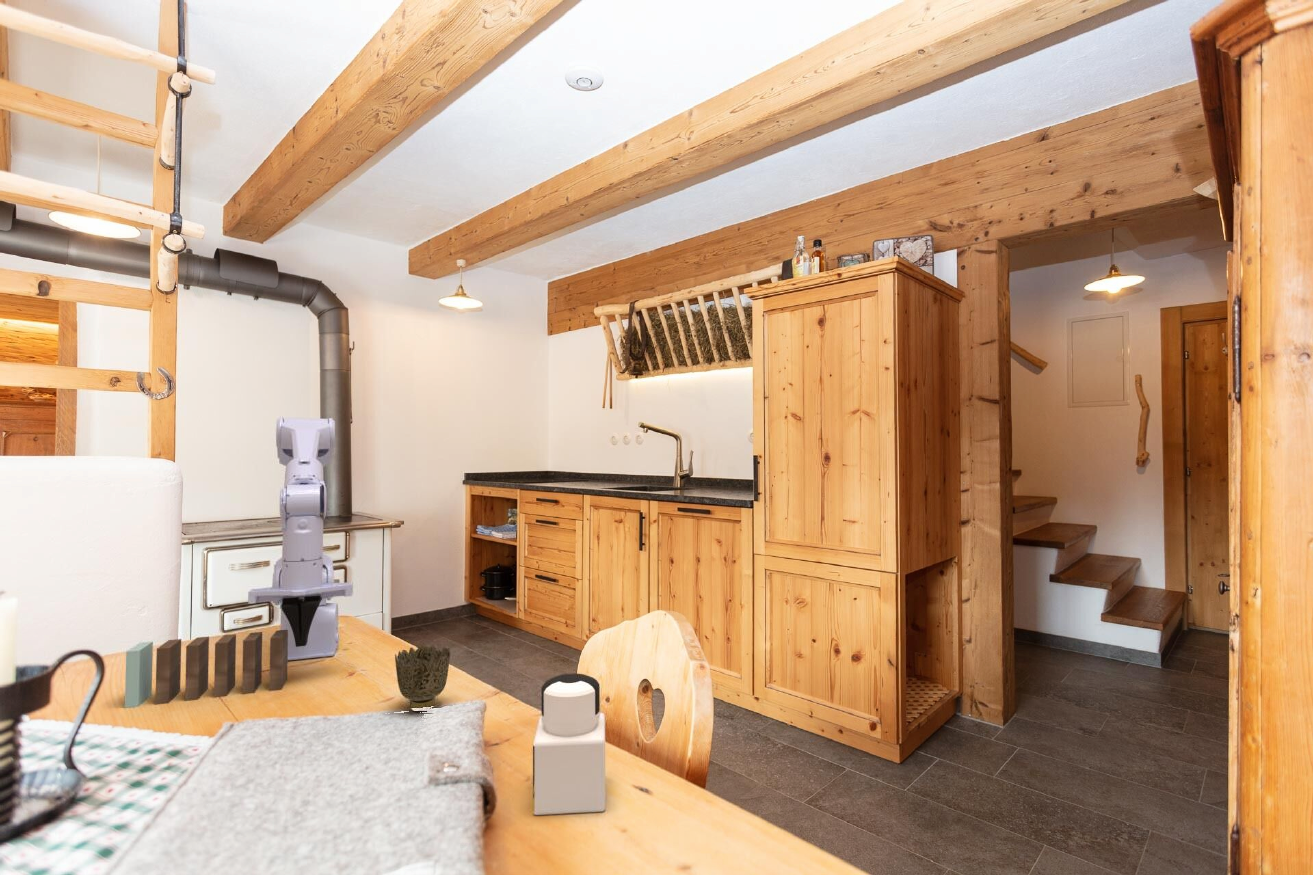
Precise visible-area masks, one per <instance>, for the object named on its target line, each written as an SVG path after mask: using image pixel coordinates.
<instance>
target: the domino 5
mask: <svg viewBox="0 0 1313 875" xmlns="http://www.w3.org/2000/svg"><path fill="white" fill-rule="evenodd" d="M242 640H243V641H242V678H241V681H242V682H241V684H242V685H241V694H242V695H249V694H255V693H256V691H257V690H258V688H259V687H260V686H261V684H262V680H263V679H262V678H263V676H262V674H263V672H262V671H263V669H262V667H263V631H257V632H250V633H249V634H248V635H247V636H246V637H245V638H244V639H242Z"/></svg>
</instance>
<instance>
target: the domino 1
mask: <svg viewBox="0 0 1313 875" xmlns="http://www.w3.org/2000/svg"><path fill="white" fill-rule="evenodd" d="M153 647H154V641H144V642H139V643H137V644H135V645H134V646H133V647H131V648H129V649H128V650H126V653H125V683H124V684H125V687H124V689H125V690H124V694H125V695H124V709H129V708H130V709H131V708H137V707H140V706H141V705H143V703H145V701H147V700H148V699H149V698H150V697H151V696H152V695H153V690H152V689H153V656H154V655H153V654H154V653H153V652H154V648H153Z"/></svg>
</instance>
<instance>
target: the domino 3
mask: <svg viewBox="0 0 1313 875" xmlns="http://www.w3.org/2000/svg"><path fill="white" fill-rule="evenodd" d="M185 648H186V649H185V686H184V688H185V691H184V701H185V702H189V701H197V700H199V699H200V698H201V697H202V696H203V695H204V694H205V692H206V691H207V690H208V689H209V664H210V663H209V656H210V655H209V653H210V636H200V637H196V638H194V639H192V641H191V642H189V644H187V645H186V646H185Z"/></svg>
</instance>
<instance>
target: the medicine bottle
mask: <svg viewBox="0 0 1313 875" xmlns="http://www.w3.org/2000/svg"><path fill="white" fill-rule="evenodd" d="M600 685H601V684H600V683H599V681H598V680H597V679H596V678H594V677H592V676H589V675H586V674H585V673H584V674H583V673H563V674H559V675H556V676H553V677H551V678H549V679H547V680H546V681H545V682H544V683H543V684H542V686H541V702H540V703H541V704H540V705H541V716H539V718H538V723H537V726H536V732H535V736H534V739H533V742H532V813H533V815H535V816H541V815H542V816H544V815H545V816H546V815H563V814H565V815H566V814H579V813H580V814H581V813H582V814H583V813H598V812H599V813H600V812H604V811H605V810H606V804H607V803H606V714H605V713H603V712H601V710H600V709H601V704H600V703H601V702H600V701H601V697H600Z"/></svg>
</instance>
